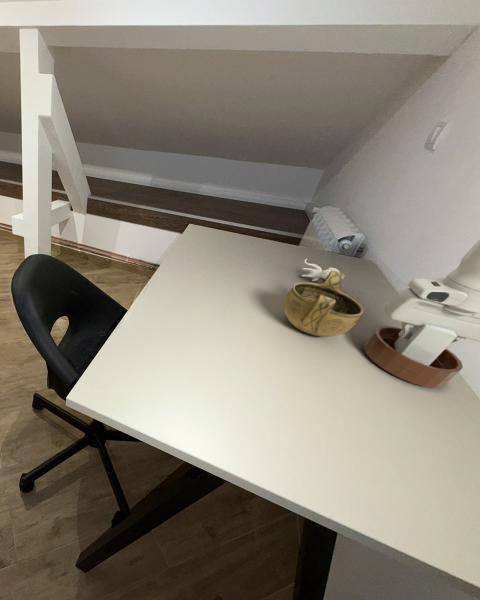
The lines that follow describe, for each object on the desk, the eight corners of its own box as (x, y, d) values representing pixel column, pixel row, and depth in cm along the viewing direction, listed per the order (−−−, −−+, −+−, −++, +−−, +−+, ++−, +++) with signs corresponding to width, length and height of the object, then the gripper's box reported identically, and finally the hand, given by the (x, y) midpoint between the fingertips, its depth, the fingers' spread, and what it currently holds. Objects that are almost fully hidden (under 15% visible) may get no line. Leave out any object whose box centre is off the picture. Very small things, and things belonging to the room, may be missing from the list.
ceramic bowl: (284, 301, 102) (307, 260, 94) (345, 325, 94) (376, 283, 85) (266, 330, 88) (291, 285, 80) (336, 362, 79) (372, 315, 71)
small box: (425, 369, 75) (458, 336, 69) (396, 358, 78) (425, 326, 72) (420, 353, 81) (450, 321, 75) (393, 343, 83) (420, 311, 78)
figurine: (305, 256, 116) (346, 260, 110) (302, 261, 124) (340, 264, 118) (301, 278, 116) (341, 283, 110) (298, 281, 124) (336, 285, 118)
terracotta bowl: (424, 355, 85) (440, 338, 82) (458, 399, 72) (479, 381, 69) (354, 335, 90) (366, 319, 86) (374, 373, 77) (389, 356, 73)
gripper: (515, 302, 69) (466, 348, 76) (403, 277, 74) (368, 322, 82) (537, 317, 64) (482, 365, 71) (415, 289, 70) (377, 336, 77)
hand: (420, 342), depth 77 cm, fingers closed on small box, 6 cm apart
